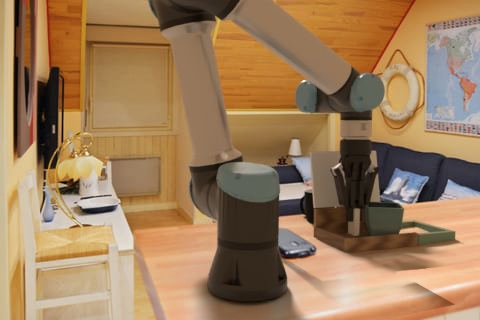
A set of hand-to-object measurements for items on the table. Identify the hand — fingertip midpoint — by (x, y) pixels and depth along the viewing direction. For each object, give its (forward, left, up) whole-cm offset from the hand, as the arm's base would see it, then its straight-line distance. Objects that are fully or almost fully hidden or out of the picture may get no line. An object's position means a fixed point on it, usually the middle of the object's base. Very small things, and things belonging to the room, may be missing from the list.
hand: (353, 234), depth 114 cm
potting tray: (+19, 0, -2) cm, 19 cm away
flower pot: (+9, 0, -2) cm, 9 cm away
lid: (+3, +7, +6) cm, 10 cm away
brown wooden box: (+3, 0, -2) cm, 4 cm away
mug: (+2, +22, -2) cm, 22 cm away
